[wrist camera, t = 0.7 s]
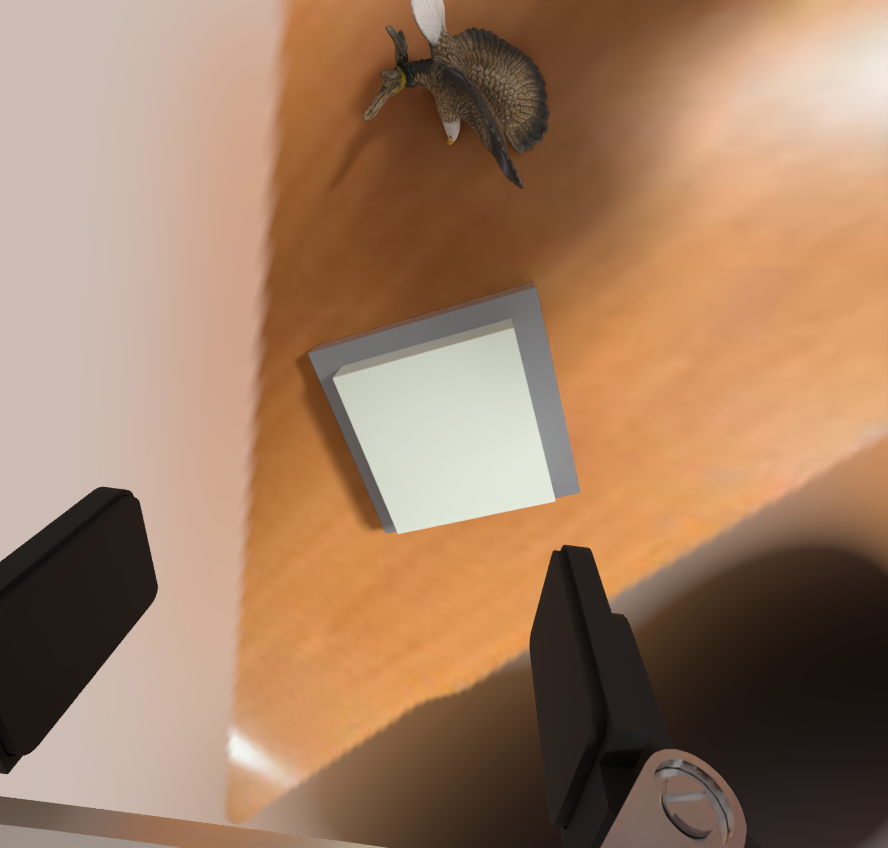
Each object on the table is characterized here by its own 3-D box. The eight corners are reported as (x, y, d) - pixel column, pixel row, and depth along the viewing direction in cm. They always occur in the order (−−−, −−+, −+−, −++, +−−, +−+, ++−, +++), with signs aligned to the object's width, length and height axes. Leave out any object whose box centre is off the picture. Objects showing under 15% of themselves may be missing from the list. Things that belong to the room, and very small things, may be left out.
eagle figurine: (373, 171, 28) (513, 222, 28) (346, 63, 21) (533, 127, 20) (423, 69, 29) (559, 115, 29) (412, -67, 22) (593, -11, 21)
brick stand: (532, 280, 32) (541, 293, 27) (574, 475, 38) (587, 512, 34) (318, 343, 35) (295, 364, 30) (390, 515, 41) (380, 554, 37)
